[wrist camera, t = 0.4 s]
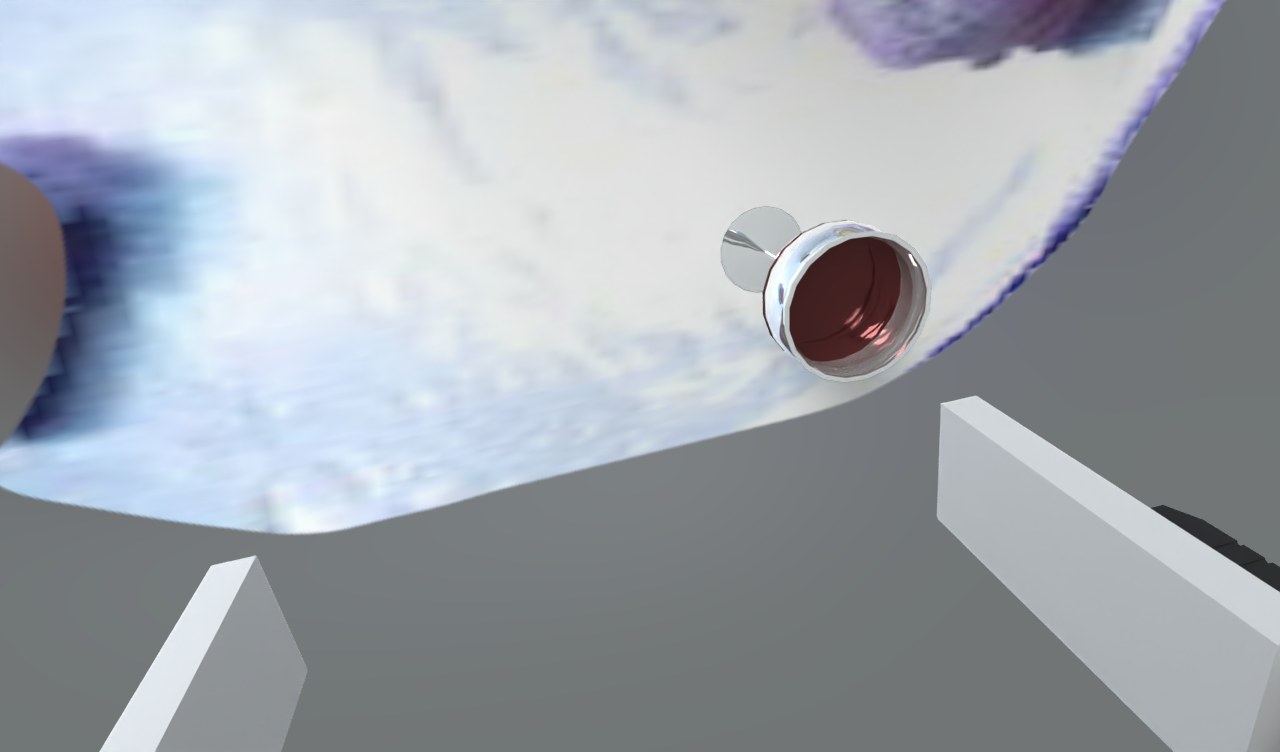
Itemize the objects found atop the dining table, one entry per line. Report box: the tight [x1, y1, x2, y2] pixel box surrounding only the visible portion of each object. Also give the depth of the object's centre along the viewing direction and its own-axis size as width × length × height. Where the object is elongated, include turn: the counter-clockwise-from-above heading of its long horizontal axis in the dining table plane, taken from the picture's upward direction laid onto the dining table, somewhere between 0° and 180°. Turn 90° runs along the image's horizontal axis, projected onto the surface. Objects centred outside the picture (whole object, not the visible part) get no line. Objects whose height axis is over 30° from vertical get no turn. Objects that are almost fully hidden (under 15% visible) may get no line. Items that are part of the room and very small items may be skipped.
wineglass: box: [721, 206, 931, 382], centre depth 35 cm, size 7×7×12 cm
